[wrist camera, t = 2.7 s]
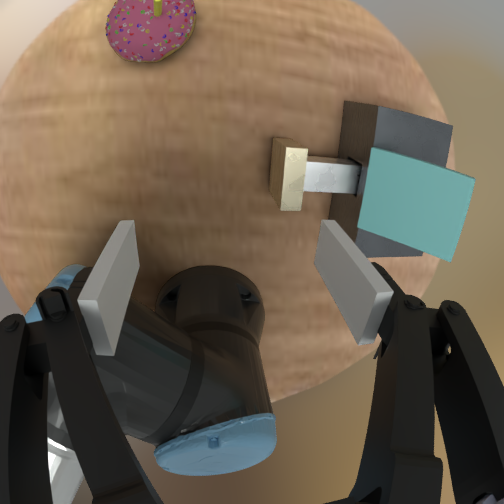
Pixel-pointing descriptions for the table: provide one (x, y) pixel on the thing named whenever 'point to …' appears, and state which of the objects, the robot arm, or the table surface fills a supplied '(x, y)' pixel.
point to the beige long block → (307, 174)
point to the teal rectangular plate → (415, 202)
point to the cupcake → (149, 28)
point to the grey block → (359, 148)
